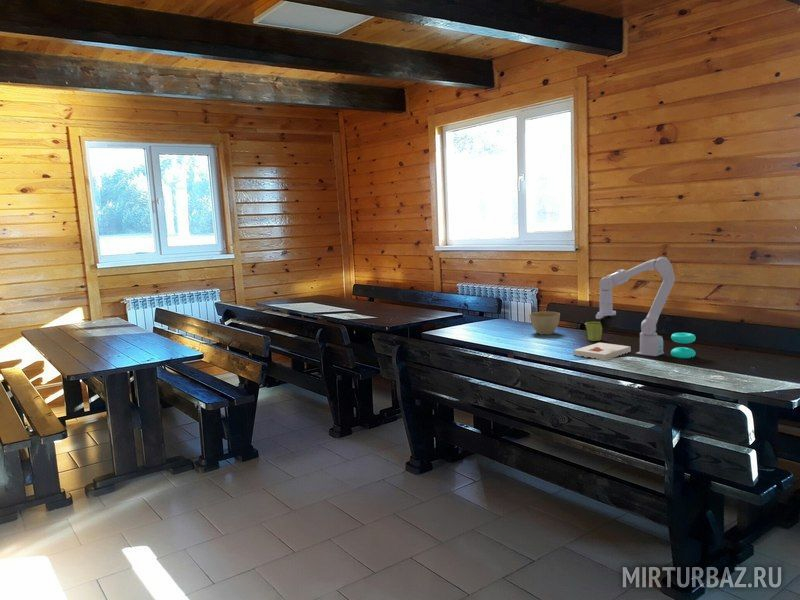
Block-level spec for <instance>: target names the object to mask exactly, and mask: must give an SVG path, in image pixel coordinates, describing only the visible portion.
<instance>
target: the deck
mask: <svg viewBox="0 0 800 600" xmlns="http://www.w3.org/2000/svg"><path fill="white" fill-rule="evenodd" d="M595 347H599V348H601V350H602V351H600V352H596V351H592V350H593V348H595ZM631 349H632V348H631V346H629V345H623V344H614V343H607V342H596V343H593V344H590V345H586V346H583V347H579V348H575V349H573V356H574V355H577V356H576V357H581V356H584V357H583V358H587V357H591V358H590V359H594V358H596V359H595V360H601V359H602V360H601V361H607V360H610V359H613V358H616V357H619V355H620V356H622V354H623V355H625V353H626V354H628V352H629V353H631V351H632V350H631ZM606 359H607V360H606Z"/></svg>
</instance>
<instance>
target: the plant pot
mask: <svg viewBox="0 0 800 600" xmlns="http://www.w3.org/2000/svg"><path fill="white" fill-rule="evenodd" d="M584 325H585V328H586V332H587V338H588V341H591V342H596V341H601V339H602V333H603V329H602V325H601V323H600V321H587V322H585V323H584Z"/></svg>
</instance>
